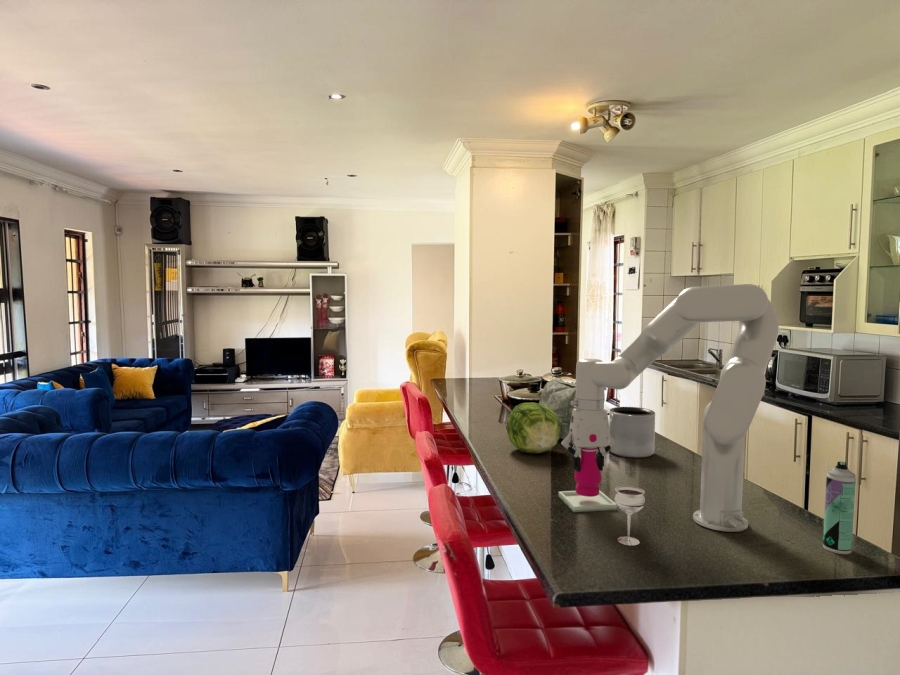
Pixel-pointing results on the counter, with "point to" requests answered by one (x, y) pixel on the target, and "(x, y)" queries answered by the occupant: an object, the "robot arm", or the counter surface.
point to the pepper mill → (588, 472)
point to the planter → (632, 431)
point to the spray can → (839, 509)
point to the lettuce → (533, 428)
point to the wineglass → (629, 507)
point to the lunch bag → (560, 402)
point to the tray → (587, 502)
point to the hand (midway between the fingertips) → (588, 469)
